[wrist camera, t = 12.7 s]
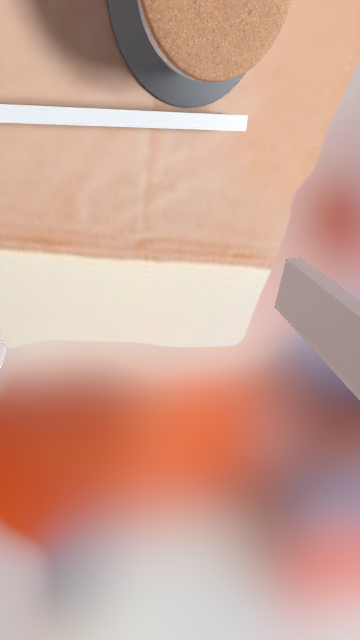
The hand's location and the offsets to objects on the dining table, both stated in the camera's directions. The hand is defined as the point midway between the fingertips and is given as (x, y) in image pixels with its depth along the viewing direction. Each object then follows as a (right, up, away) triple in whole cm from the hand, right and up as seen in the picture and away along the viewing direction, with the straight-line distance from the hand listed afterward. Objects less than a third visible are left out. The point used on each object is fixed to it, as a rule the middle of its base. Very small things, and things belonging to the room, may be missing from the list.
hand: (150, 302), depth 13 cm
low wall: (-4, +19, +15) cm, 25 cm away
